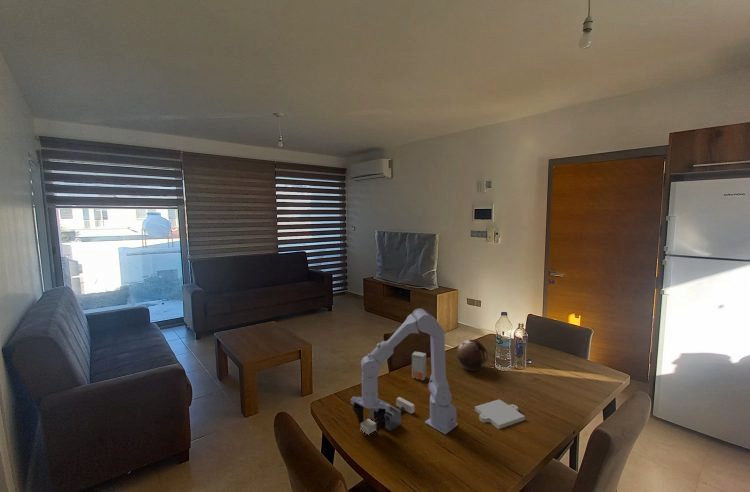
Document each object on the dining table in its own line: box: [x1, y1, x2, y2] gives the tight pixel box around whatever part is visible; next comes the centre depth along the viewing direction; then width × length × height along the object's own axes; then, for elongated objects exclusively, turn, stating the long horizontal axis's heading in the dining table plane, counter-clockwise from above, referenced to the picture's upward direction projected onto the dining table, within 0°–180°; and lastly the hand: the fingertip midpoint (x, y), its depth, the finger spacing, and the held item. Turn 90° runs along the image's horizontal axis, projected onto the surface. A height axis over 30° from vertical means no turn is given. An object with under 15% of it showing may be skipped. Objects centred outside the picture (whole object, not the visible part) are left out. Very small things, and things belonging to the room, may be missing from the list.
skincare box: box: [411, 351, 427, 381], centre depth 159 cm, size 6×4×12 cm
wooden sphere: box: [456, 339, 489, 372], centre depth 167 cm, size 15×15×15 cm
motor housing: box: [368, 398, 402, 432], centre depth 126 cm, size 11×6×6 cm, turn 43°
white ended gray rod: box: [359, 396, 416, 436], centre depth 126 cm, size 8×24×3 cm, turn 133°
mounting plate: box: [474, 398, 526, 430], centre depth 129 cm, size 18×13×2 cm
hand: (370, 425), depth 121 cm, fingers open, 7 cm apart
